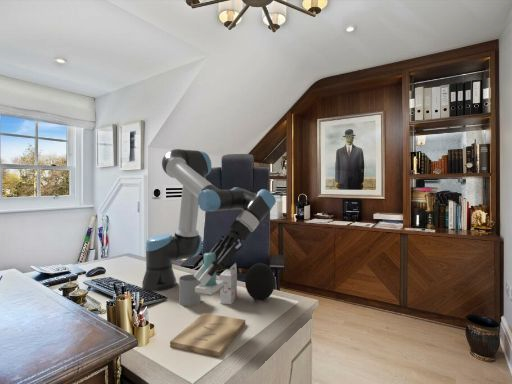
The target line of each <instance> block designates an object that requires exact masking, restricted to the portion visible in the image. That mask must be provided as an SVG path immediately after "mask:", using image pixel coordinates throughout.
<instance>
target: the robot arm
mask: <svg viewBox="0 0 512 384" xmlns="http://www.w3.org/2000/svg"><path fill="white" fill-rule="evenodd" d="M162 157H163V158H162V160H161V166H162V170H163V172H164V173H165V174H166V175H167V176H168V177H170V178H171V179H175V180H176V181H178V182H179V183H180V184H181V185H182V190H181V191H182V192H181V199H180V200H181V201H180V210H179V219H178V220H179V222H178V228H177V229H175V230H174V236H173V235H172V234H170V233H165V234H164V233H163V234H155V235H153V236H151V237H149V238H148V239H147V240H146V243H145V260H146V262H145V265H146V266H145V267H146V269H145V272H144V275H143V280H142V283H141V284H142V285H141V286H142V289H143V288H144V289H143V290H145V289H147V290H146V291H149V290H150V292H151V291H152V292H159V291H164V290H165V291H166V290H169V289H172V288H174V287H175V286H176V285H177V279H176V276H175V273H174V270H173V261H175V262H176V261H179V260H180V261H181V260H186V259H192V258H194V257H197V256H198V255H200V253H201V252H202V249H203V240H202V236H201V235H200V233H199V231H198V230H197V225H198V224H197V223H198V215H199V214H198V213H199V209H200V211H203V212H217V211H231V210H233V211H234V210H242V211H241V212H240V213H239V215H238V216H237V217H236V220H234V221H233V222H232V223H231V224H230V225H229V226H228V229H229V230H230V232H229V233H227V234H226V236H224V235H221V236H220V238H219V239H218V241H217V242H216V243H215V244H214V246H213V247H212V248H211V249H210V251H208V253H216V261H215V262H212V264H211V265H210V266H209V267H208V269H207V270H206V271H205V272H204V263H203V264H202V265H201V266H200V268H199V269H198V270H197V271H196V272H195V274H194V277H195V278H196V279H198V280H199V281H200V284H201V283H202V284H203V285H206V283H207V282H208V281H209V280H210V278H211V277H212V276H213V275H214V273H215V272H216V273H217V271H218V270H222V269H225V267H226V266H227V265H228V263H230V261H231V260H232V259H233V258H234V256H235V255H236V254H237V253H238V252H239V251H240V250H241V249H242V248H243V246H244V245H243V244H242V242H246V241H247V240H248V239H249V237H250V236H251V235H252V232H254V231H255V230H256V229H257V228H258V226H259V225H260V223H261V222H262V221H263V220H264V218H266V216H267V215H268V214H269V212H270V211H272V209H273V207H275V204H276V202H277V201H276V197H275V196H274V194H273V193H272V192H271V191H269V190H267V189H265V188H264V189H263V188H262V189H260V190H259V191H257V192H256V193H255V192H253V191H249V190H247V189H244V188H242V187H232V188H231V189H219V188H218V187H216V186H215V185H214V184H212V183H211V182H210V181H209V180H207V179H206V176H208V175H210V173H211V171H212V160H211V158H210V156H209V154H208V153H207V152H205V151H200V150H190V149H181V148H175V149H171V150H169V151H167V153H166V152H165V154H164V156H162Z"/></svg>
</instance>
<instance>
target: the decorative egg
mask: <svg viewBox="0 0 512 384" xmlns="http://www.w3.org/2000/svg"><path fill="white" fill-rule="evenodd" d="M275 278H276V277H275V274H274V272H273V270H272V268H271V267H270V266H268V264H265V263H263V262H258V263H257V262H256V263H254V264H253V265H251V266H250V267H249V269H248V270H247V271H246V274H245V279H244V282H245V289H246V292H247V293H248V295H249V296H250V297H251V298H252V299H253V300H255V301H265V300H266V299H268V298H270V297H271V295H272V293H274V290H275V286H276V279H275Z"/></svg>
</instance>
